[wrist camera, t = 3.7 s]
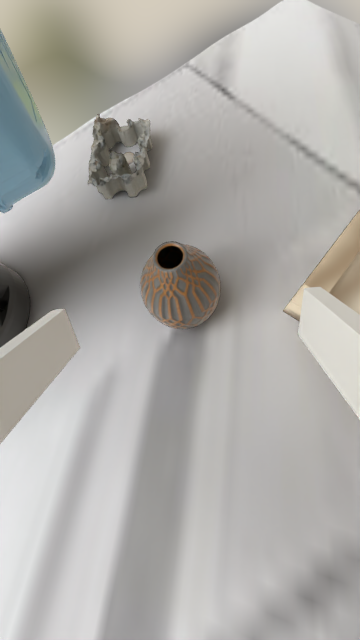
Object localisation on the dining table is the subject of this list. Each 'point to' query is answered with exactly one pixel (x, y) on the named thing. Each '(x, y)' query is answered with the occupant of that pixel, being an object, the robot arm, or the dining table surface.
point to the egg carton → (119, 156)
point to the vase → (180, 285)
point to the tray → (336, 272)
